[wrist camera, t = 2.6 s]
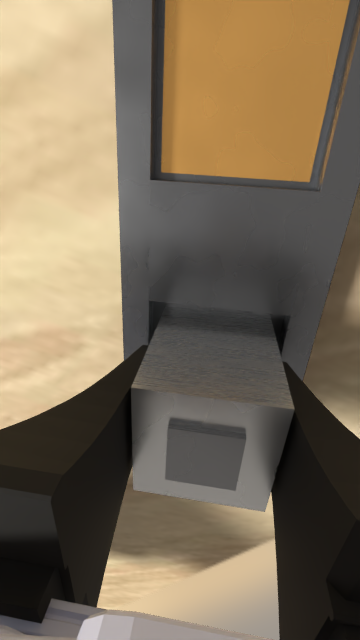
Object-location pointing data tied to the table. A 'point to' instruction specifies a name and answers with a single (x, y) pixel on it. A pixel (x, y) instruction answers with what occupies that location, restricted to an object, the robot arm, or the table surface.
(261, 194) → the dark gray slotted base
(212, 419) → the grey square block
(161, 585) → the table surface
